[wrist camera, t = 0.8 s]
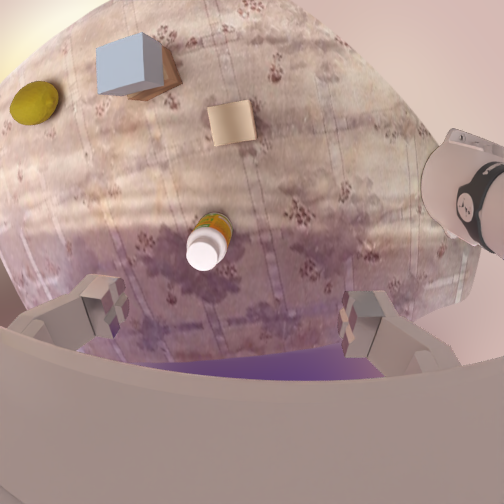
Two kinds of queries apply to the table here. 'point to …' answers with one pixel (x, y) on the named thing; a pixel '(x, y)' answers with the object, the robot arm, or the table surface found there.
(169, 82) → the bottom block
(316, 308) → the table surface
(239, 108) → the maple block
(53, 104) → the lemon
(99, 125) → the table surface
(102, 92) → the top block
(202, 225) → the supplement bottle
